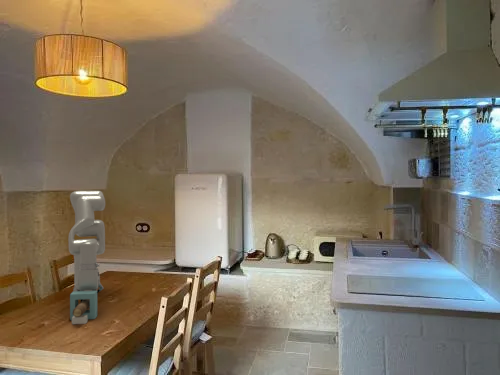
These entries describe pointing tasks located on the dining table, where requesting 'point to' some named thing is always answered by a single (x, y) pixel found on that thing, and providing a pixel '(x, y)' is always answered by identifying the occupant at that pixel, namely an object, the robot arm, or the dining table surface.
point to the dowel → (81, 308)
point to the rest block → (80, 319)
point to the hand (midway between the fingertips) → (88, 303)
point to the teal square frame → (84, 295)
